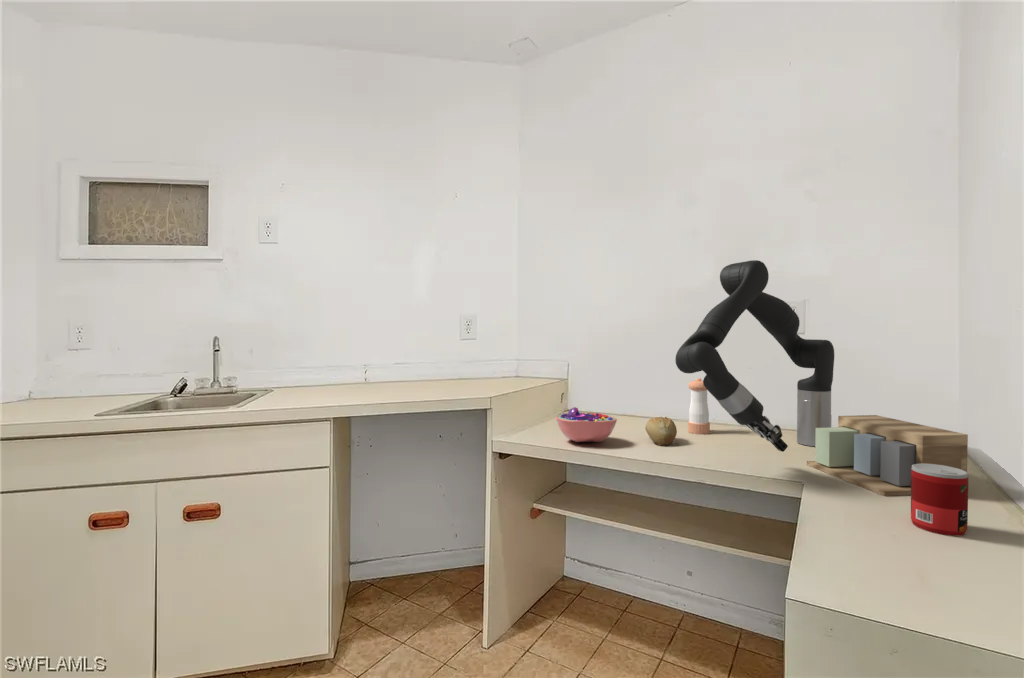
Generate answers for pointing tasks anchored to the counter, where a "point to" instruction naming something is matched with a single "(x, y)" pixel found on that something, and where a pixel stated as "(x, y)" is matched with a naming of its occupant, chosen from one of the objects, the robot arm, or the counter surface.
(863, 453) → the blue-grey key
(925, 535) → the counter surface
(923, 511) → the canned food
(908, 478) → the charcoal key
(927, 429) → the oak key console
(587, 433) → the cell model
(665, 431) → the bread roll
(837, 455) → the sage key
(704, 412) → the salt shaker
